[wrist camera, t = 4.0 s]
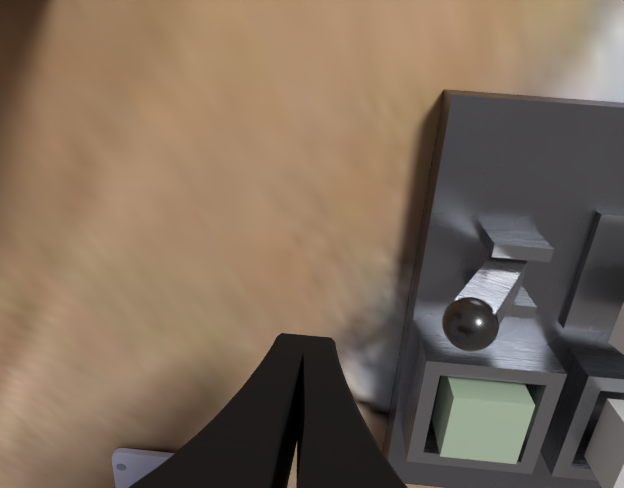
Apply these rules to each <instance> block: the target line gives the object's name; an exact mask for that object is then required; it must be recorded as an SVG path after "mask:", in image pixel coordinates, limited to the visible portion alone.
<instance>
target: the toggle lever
mask: <svg viewBox="0 0 624 488" xmlns="http://www.w3.org/2000/svg"><path fill="white" fill-rule="evenodd" d="M527 263H528V261H526V260H519V259H507V258H495V257H491V256H490V257H489V258H488V260H487V261H486V262H485V263H484V264H483V266H482V267H481V268H480V269H479V271H478V272H477V273H476V274H475V275H474V277H473V278H472V279H471V280H470V281H469V283H468V284H467V285H466V286H465V288H464V289H463V290H462V291H461V292H460V294H459V295H458V296H457V297H456V298H455V300H454V302H453V303H451V304H450V305H449V306H448V307H447V309H446V311H445V313H444V315H443V320H442V326H443V331H444V334H445V336H446V337H447V339H448V340H449V341H450V343H451V344H453V345H454V346H455V347H457V348H459V349H461V350H464V351H469V352H475V351H480V350H483V349H485V348H487V347H488V346H490V345H491V344H492V343H493V341H494V340H495V339H496V337H497V334H498V330H499V325H500V324H501V322H502V320H503V319H504V317H505V315H506V313H507V312H508V310H509V308H510V307H511V305H512V303H513V301H514V300H515V298H516V296H517V295H518V293H519V291H520V288H521V285H522V281H523V277H524V274H525V270H526V267H527Z"/></svg>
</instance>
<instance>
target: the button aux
mask: <svg viewBox="0 0 624 488" xmlns="http://www.w3.org/2000/svg"><path fill="white" fill-rule="evenodd" d="M584 457H585V458H586V460H587V462H588V464H589V466H590V467H591V469H592V471H593V473H594V475H595V476H596V478H597V480H598V482H599V484H600V485H601V487H602V488H624V400H618V399H607V400H606V402H605V405H604V407H603V410H602V412H601V415H600V417H599V420H598V422H597V425H596V427H595V430H594V432H593V435H592V437H591V440H590V442H589V444H588V447H587V449H586V452H585V454H584Z"/></svg>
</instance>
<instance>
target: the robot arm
mask: <svg viewBox="0 0 624 488" xmlns="http://www.w3.org/2000/svg"><path fill="white" fill-rule="evenodd" d="M296 443H297V488H407V486H406V485H405V484H404V482H403V481H402V480H401V479H400V477H399V476H398V474H397V473H396V471H395V470H394V468H393V467H392V466H391V464H390V463H389V461H388V460H387V458H386V457H385V455H384V454H383V452H382V450H381V449H380V447H379V446H378V444H377V442H376V441H375V439H374V437H373V436H372V434H371V432H370V430H369V428H368V427H367V425H366V423H365V421H364V419H363V417H362V415H361V413H360V411H359V409H358V407H357V405H356V403H355V401H354V399H353V396H352V394H351V392H350V389H349V387H348V385H347V382H346V380H345V377H344V374H343V371H342V368H341V365H340V362H339V359H338V355H337V351H336V345H335V342H334V340H333V339H332V338H328V337H317V336H307V335H296V334H285V333H281V334H280V335H279V336H277V338H276V340H275V342H274V343H273V345H272V347H271V348H270V350H269V352H268V353H267V355H266V356H265V358H264V359H263V360H262V362H261V363H260V365H259V366H258V367H257V369H256V370H255V371H254V373H253V374H252V375H251V377H250V378H249V379H248V380H247V382H246V383H245V384H244V386H243V387H242V388H241V389H240V390H239V391H238V393H237V394H236V395H235V396H234V397H233V398H232V399H231V400H230V402H229V403H228V404H227V405H226V406H225V407H224V408H223V409H222V410H221V411H220V412H219V414H218V415H217V416H216V417H215V418H214V419H213V420H212V421H211V422H210V423H209V424H208V425H206V426H205V427H204V428H203V429H202V430H201V431H200V432H199V433H198V434H197V435H196V436H195V437H193V438H192V439H191V440H190V441H189V442H188V443H186V444H185V445H184V446H183V447H182V448H181V449H179V450H178V451H177V452H176V453H168V452H158V451H148V450H138V449H129V448H118V449H116V450H115V451H114V453H113V454H112V457H111V460H112V467H113V474H114V481H115V487H116V488H287V485H288V480H289V475H290V471H291V466H292V462H293V457H294V452H295V448H296Z"/></svg>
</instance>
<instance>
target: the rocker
mask: <svg viewBox="0 0 624 488" xmlns="http://www.w3.org/2000/svg"><path fill="white" fill-rule="evenodd" d="M608 343H610V344H611V345H612V346H613V347H615V348H616V349H617V350H618V351H620V352H621V353H622V354H623V355H624V303H623V305H622V308H621V310H620V313H619V316H618V318H617V321H616V323H615V326H614V329H613V331H612V334H611V337H610V339H609V342H608Z"/></svg>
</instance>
